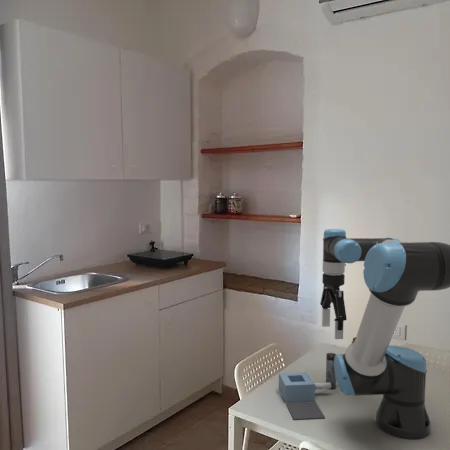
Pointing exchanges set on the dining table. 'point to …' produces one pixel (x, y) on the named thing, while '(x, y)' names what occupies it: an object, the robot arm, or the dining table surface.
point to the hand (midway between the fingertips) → (332, 332)
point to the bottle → (330, 370)
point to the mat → (305, 411)
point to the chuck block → (299, 387)
